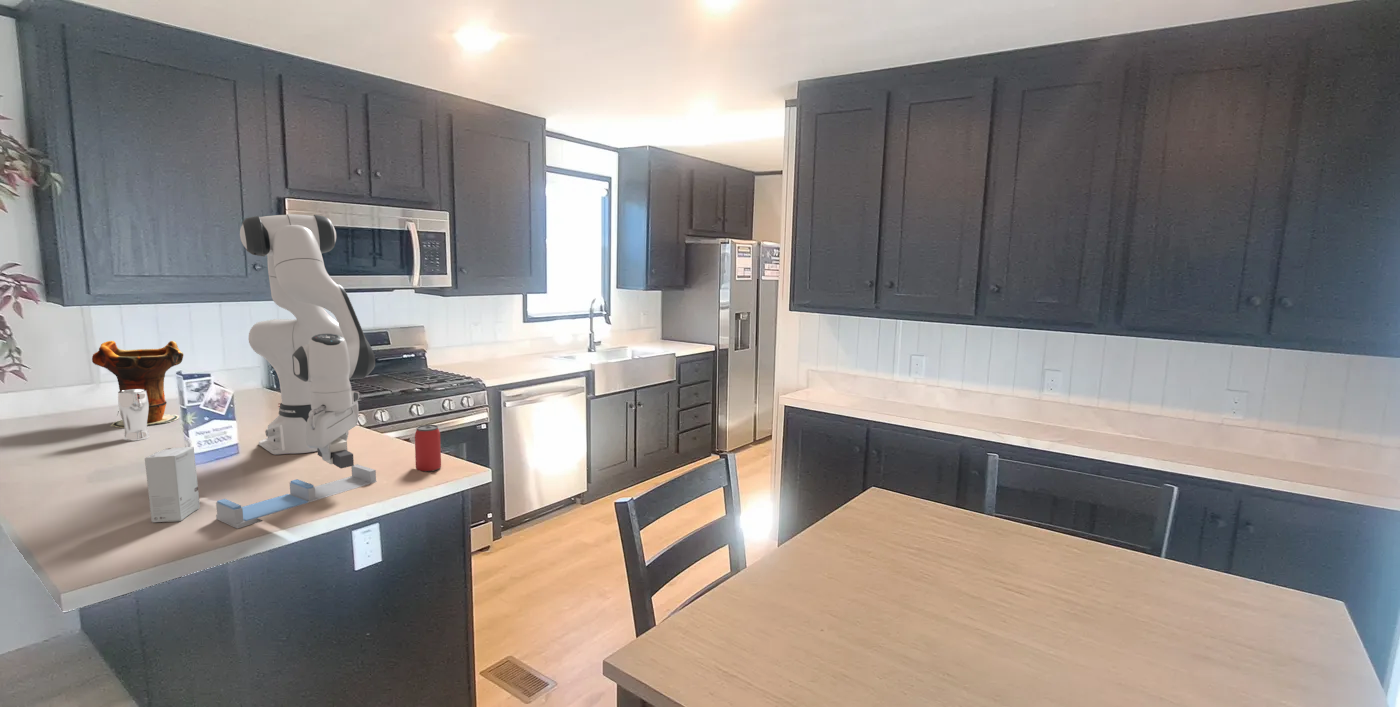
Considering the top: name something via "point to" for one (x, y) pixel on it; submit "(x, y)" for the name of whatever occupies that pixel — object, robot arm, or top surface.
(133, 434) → the beer glass
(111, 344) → the decorative vase
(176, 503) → the skincare box
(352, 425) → the robot arm
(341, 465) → the grey post with collar
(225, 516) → the slider rail
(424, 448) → the beer can
